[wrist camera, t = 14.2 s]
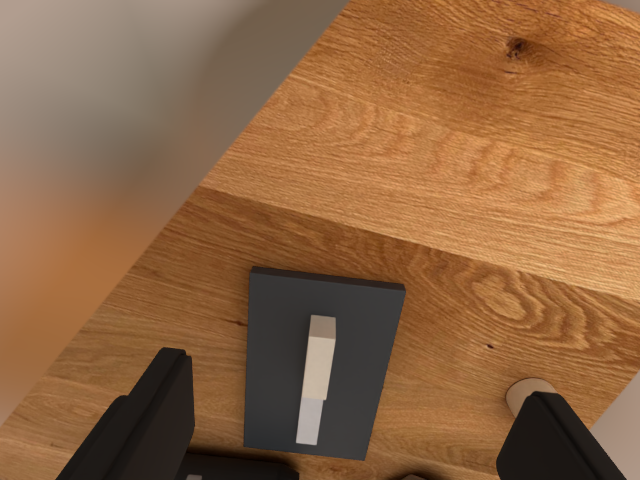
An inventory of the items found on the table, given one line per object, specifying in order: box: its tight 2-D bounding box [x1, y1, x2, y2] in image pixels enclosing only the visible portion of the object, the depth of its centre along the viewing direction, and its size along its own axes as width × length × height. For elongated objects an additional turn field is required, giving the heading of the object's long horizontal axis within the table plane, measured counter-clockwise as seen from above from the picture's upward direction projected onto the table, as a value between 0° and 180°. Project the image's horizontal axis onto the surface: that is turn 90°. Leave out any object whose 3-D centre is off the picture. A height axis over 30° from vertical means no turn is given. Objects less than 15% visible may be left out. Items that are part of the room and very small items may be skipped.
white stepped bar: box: [296, 315, 336, 445], centre depth 37 cm, size 19×3×4 cm, turn 174°
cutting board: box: [244, 266, 406, 461], centre depth 40 cm, size 16×26×2 cm, turn 174°
